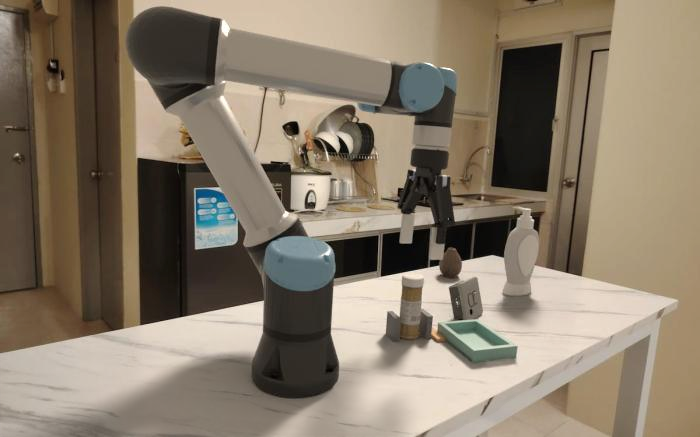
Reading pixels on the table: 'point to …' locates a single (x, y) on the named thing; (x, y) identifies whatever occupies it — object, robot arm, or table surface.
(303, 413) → the table surface
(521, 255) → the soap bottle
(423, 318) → the grey and orange blocks
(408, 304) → the sprinkles bottle
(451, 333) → the parts tray
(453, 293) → the electrical switch
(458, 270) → the vase
